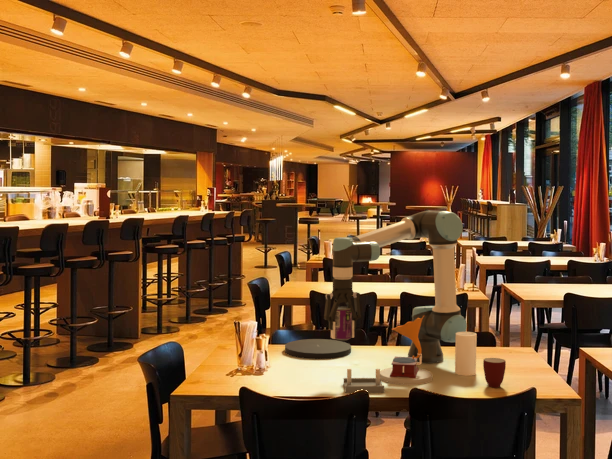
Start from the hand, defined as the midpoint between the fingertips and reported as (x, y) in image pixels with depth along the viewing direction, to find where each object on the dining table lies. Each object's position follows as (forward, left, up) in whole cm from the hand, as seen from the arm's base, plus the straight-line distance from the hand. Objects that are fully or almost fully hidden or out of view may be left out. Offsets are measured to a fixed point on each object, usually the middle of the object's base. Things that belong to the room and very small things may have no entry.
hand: (342, 337), depth 292 cm
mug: (-56, +7, -17) cm, 59 cm away
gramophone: (-25, -5, -17) cm, 31 cm away
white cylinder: (-50, -12, -17) cm, 55 cm away
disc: (+8, -52, -18) cm, 56 cm away
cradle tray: (-7, +10, -17) cm, 21 cm away
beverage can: (0, 0, -1) cm, 1 cm away
